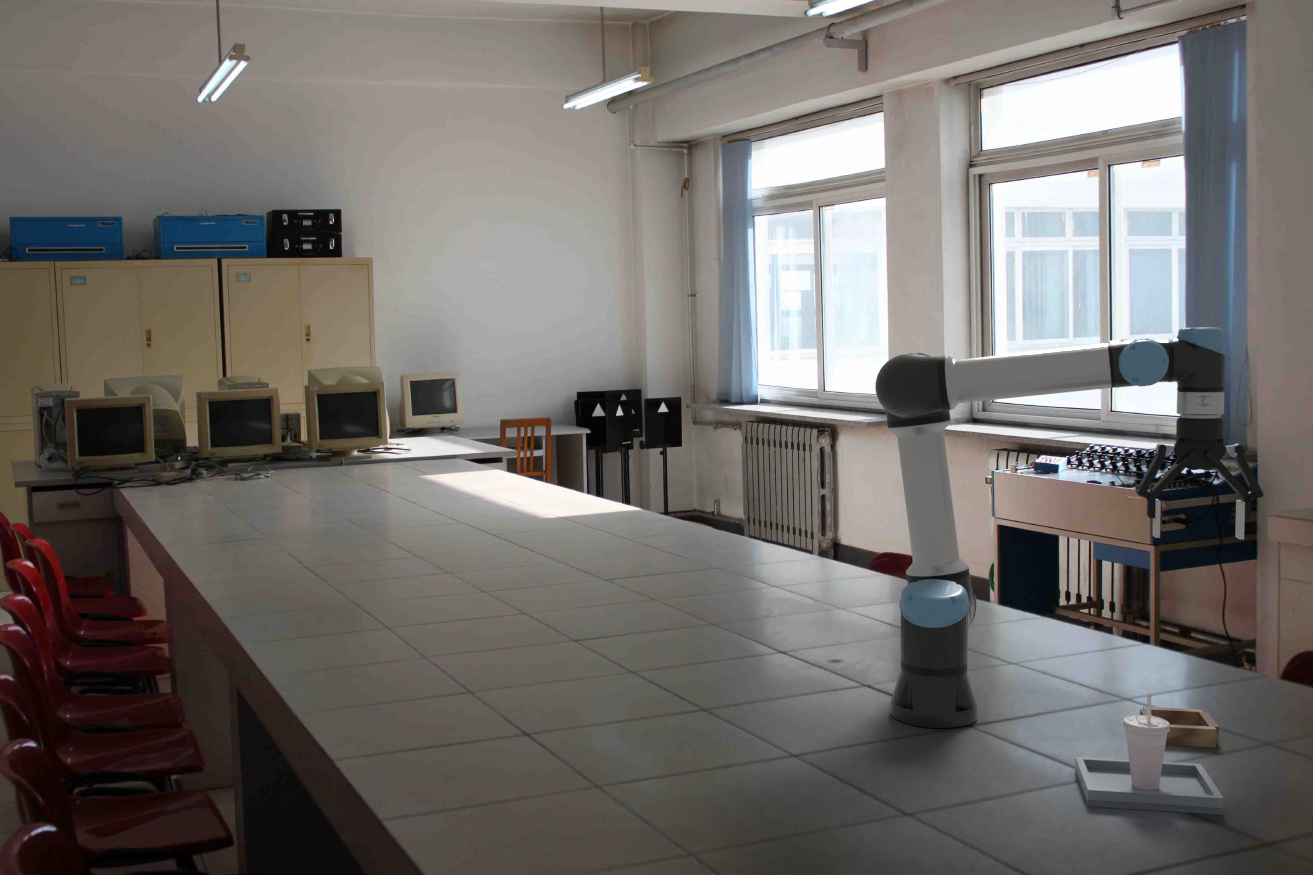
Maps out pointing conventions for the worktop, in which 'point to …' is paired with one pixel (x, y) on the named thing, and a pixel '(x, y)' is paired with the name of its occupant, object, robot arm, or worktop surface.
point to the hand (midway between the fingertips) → (1197, 537)
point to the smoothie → (1146, 747)
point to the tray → (1176, 793)
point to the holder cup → (1187, 726)
